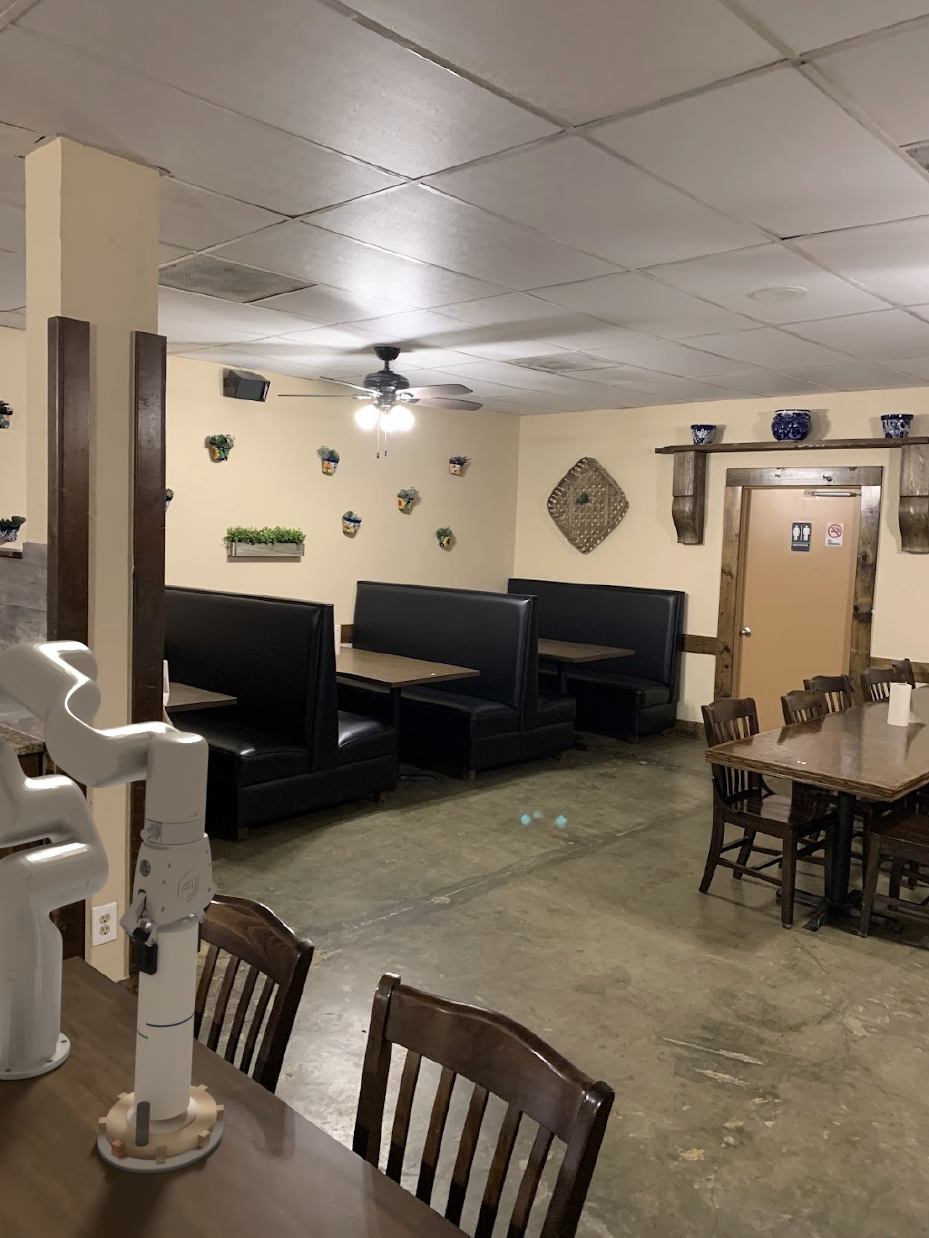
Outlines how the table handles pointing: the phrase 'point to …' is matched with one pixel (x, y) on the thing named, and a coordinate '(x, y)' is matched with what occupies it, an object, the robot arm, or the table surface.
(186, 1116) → the dial
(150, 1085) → the cylindrical container
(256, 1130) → the table surface
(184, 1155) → the dial base
